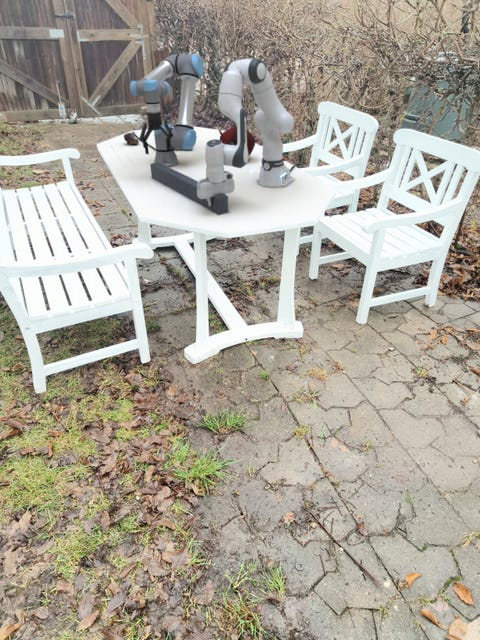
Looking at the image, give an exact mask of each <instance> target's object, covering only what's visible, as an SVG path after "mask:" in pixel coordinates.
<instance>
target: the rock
mask: <svg viewBox="0 0 480 640" xmlns="http://www.w3.org/2000/svg"><path fill="white" fill-rule="evenodd" d="M134 133H135V132H134ZM134 133H133V132H127V133H125V134H123V139H124V141H125V142H126V143H127V144H128V145H139V144H140V141H139V139H138V138H137V137H136V136H135V135H134Z"/></svg>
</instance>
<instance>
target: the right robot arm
mask: <svg viewBox="0 0 480 640" xmlns="http://www.w3.org/2000/svg"><path fill="white" fill-rule="evenodd" d="M244 86H249V87H250V90H251V93H252V95H253V98H254V101H255V104H256V106H257V108H259V109H258V110H256V112H255V114H254V118H253V119H254V120H253V122H254V125H255V126H256V128H257V130H258V131H259V135H260V138H261V142H262V143H261V144H262V157H261V166H260V169H259V178H258V179H257V182H259V185H261V186H262V187H266V188H278V187H280V188H281V187H282V188H283V187H284V188H285V187H287V186H288V185H290V184H291V183H292V182H293V181H294V179H295V178H294V177H293V176H291V171H292V170H293V169H294V168H295V167H296V166H298V167H299V166H301V164H300V163H295V164H294V165H293V166H291V168H290V169H289V167H287V165H285V162H286V161H287V160H288V159H287V157H284V156H283V153H284V151H283V150H284V143H283V141H282V140H281V138H280V136H279V135H287V134H290V133H291V132H292V131H293V129H294V127H295V118H294V116H293V115H292V114H291V113H289V112H288V111H287V109H286V108H285V107H284V105H283V104H282V101H280V98H279V96H278V94H277V91H276V88H275V87H274V86H275V85H274V83H273V80H272V76H271V74H270V72H269V70H268V68H267V66H266V64H265V62H264V61H263V59H261V58H242V59H236V60H231V61H229V62H227V63H226V65H225V67H224V69H223V74H222V77H221V80H220V84H219V89H218V97H217V107H218V110H219V111H220V113H221V114H222V115H223V116H224V117H226V118H228V119H230V120H232V121H233V122H234V123H235V126H236V127H237V145H227V144H223V143H222V141H221V140H220V139H217V138H215V139H210V140H208V141H207V142H206V144H205V149H204V150H205V151H204V154H205V155H204V156H205V157H204V159H205V161H204V162H205V165H206V168H205V178H200V179H199V180H197V181H198V182H197V197H198V198H200V199H206V200H207V201H208V205H209V206H212V205H213V204H212V202H211V201H210V197H213V196H214V195H218V194H222V193H223V194H225V195H227V194H230V193H231V194H232V193H233V192H234V191H235V179H234V173H232V172H229V171H227V170H225V167H224V166H226V167H227V166H228V167H233V168H237V169H242V168H244V167H245V166H247V164H248V163H249V158H250V156H249V153H248V139H247V130H248V115H247V111H246V110H245V108H243V103H242V100H243V87H244ZM255 171H256V169H255V168H253V169H251V170H250V171H248V172H249V174H251V173H253V172H255Z"/></svg>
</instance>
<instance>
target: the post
mask: <svg viewBox="0 0 480 640" xmlns="http://www.w3.org/2000/svg"><path fill="white" fill-rule="evenodd" d="M149 166H150V174H151V178H152V179H153V180H155V181H157V182H158V183H161V184H162V185H164V186H167V187H168V188H170V189H172V190H173V191H174V192H177V193H179V194H180V195H183V196H184V197H186V198H188V199H190V200H192V201H194V202H195V203H197V204H199V205H201V206H202V207H204V208H206V209H208V210H210V211H212V212H213V213H216V214H217V215H223V214H226V213H229V195H228V194H226V195H225V194H223V193H222V194H218V195H214V196H213V197H210V201H211V202H212V204H213V205H212V206H209V205H208V201H207V200H206V199H200V198H198V197H197V182H198V181H199V180H196V179H194V178H193V177H190V176H187V175H186V174H184V173H182V172H179V171H177V170H175V169H173V168H171V167H170V166H168V167H167V166H165V165H163V164H161V163H159V162H158V163H155V162H153V163H150V164H149Z"/></svg>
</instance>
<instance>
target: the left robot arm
mask: <svg viewBox="0 0 480 640" xmlns="http://www.w3.org/2000/svg"><path fill="white" fill-rule="evenodd" d="M204 66H205V65H204V62H203V59H202V57H201V55H199V54H194V53H174V54H172V55H169V56H167V57H166V58H164V59H162V60H161V61H160V62H159V64H158V66H156V67H155V68H154V69H153V70H151V71H150V72H149V73H147V74H146V75H144V77H142V78H140V79H139V80H131V81H130V83H129V92H130V94H131V95H132V96H134V97H144V98H145V99H144V101H145V109H146V112H147V113H146V117H147V122H142V128H141V133H140V135H139V136H138V135H137V134H136V133H135V132H134V131H133V130H132V133H134V135H135V138H136V139H138V141H139V142H141V143H142V147H143V149H144V152H145V154H146V155H149V154H150V151H149V148H152V149H153V150H154V151H155V155H154V163H158V162H159V163H161V164H163V165H165V166H167V167H174V166H177V165H178V164H179V159H178V155H177V153H176V151H175V150H174V148H179V149H191V150H193V149H194V147H195V146H196V142H197V138H198V137H197V136H198V135H197V132H196V130H195V127H194V125H193V116H194V109H195V107H194V106H195V98H196V88H197V84H198V83H199V82H200V78H202V77H203V76H204V73H205V67H204ZM175 76H179V79H180V80H181V87H180V98H179V109H178V118H177V119H178V123H176V124H175V128H173V125H172V124H168V120H166V119H162V112H161V105H160V104H161V103H160V101H161V100H160V99H162V98H166V97H167V96H169V95H170V93H171V86H170V84H169V83H168V82H167V81H165V80H166V79H167V78H168V79H169V78H171V77H175ZM151 133H153V136H154V145H155V147H154V146H153V145H151V144H150V143H148V139H149V138H150V136H151ZM192 148H193V149H192Z"/></svg>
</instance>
